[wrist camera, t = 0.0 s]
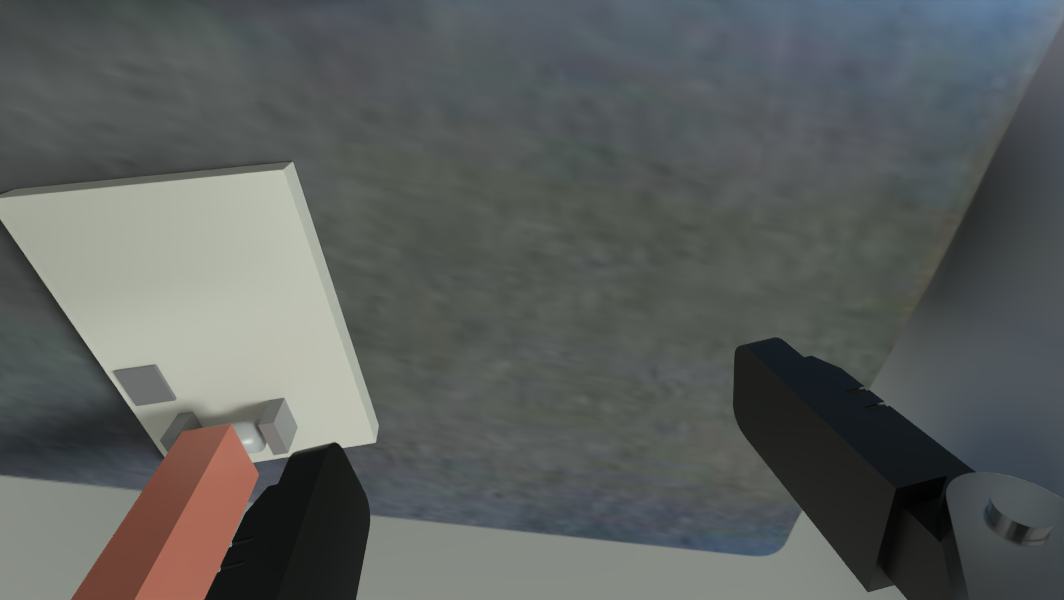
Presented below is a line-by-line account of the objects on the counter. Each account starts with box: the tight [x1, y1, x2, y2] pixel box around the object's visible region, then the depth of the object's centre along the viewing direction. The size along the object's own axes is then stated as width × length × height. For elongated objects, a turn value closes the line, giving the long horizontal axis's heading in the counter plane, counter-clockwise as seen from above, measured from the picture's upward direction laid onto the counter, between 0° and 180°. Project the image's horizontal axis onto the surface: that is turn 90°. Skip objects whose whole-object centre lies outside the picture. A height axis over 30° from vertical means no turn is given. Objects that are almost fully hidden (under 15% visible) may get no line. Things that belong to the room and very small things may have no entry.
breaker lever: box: [71, 419, 267, 600], centre depth 21 cm, size 4×3×13 cm
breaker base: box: [0, 161, 379, 463], centre depth 24 cm, size 18×12×4 cm
